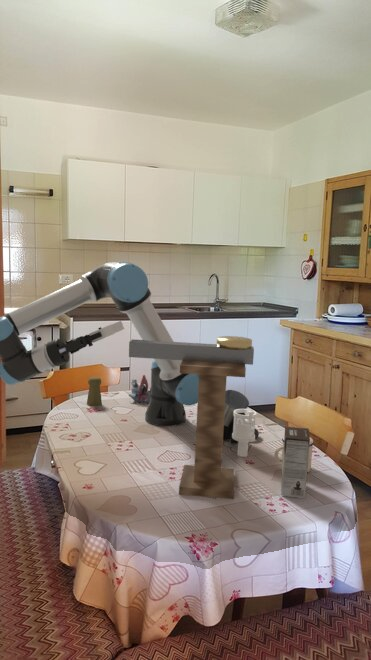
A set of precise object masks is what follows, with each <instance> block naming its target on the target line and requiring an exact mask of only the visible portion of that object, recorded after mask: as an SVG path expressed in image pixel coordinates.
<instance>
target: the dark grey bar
mask: <svg viewBox="0 0 371 660" xmlns="http://www.w3.org/2000/svg"><path fill="white" fill-rule="evenodd" d="M254 353H255V348H254V346H253V339H252V338H248V337H243V336H236V335H235V336H234V335H231V336H230V335H224V336H218V337H216V343H215V344H214V343H199V342H184V341H179V342H178V341H174V342H168V341H150V340H142V339H132V338H131V340H130V341H129V342H128V358H136V359H137V358H138V359H151V360H153V359H168V360H184V361H201V362H217V363H233V364H245V365H251V366H253V365H254V355H255V354H254Z"/></svg>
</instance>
